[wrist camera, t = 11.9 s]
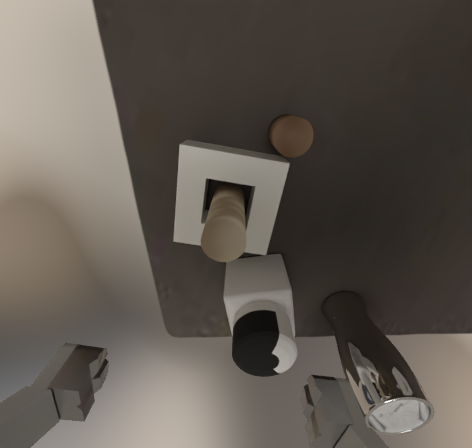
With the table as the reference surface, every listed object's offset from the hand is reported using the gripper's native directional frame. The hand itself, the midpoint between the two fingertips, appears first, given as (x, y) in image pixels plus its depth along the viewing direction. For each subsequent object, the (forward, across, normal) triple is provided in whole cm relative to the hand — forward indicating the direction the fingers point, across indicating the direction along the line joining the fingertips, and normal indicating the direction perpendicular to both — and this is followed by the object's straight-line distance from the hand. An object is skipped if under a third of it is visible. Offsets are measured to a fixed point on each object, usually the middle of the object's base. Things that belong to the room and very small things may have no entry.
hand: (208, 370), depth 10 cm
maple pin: (+22, 0, 0) cm, 22 cm away
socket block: (+22, 0, 0) cm, 22 cm away
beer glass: (+23, -20, +15) cm, 34 cm away
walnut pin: (+22, -5, -8) cm, 24 cm away
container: (+23, -6, +12) cm, 26 cm away
